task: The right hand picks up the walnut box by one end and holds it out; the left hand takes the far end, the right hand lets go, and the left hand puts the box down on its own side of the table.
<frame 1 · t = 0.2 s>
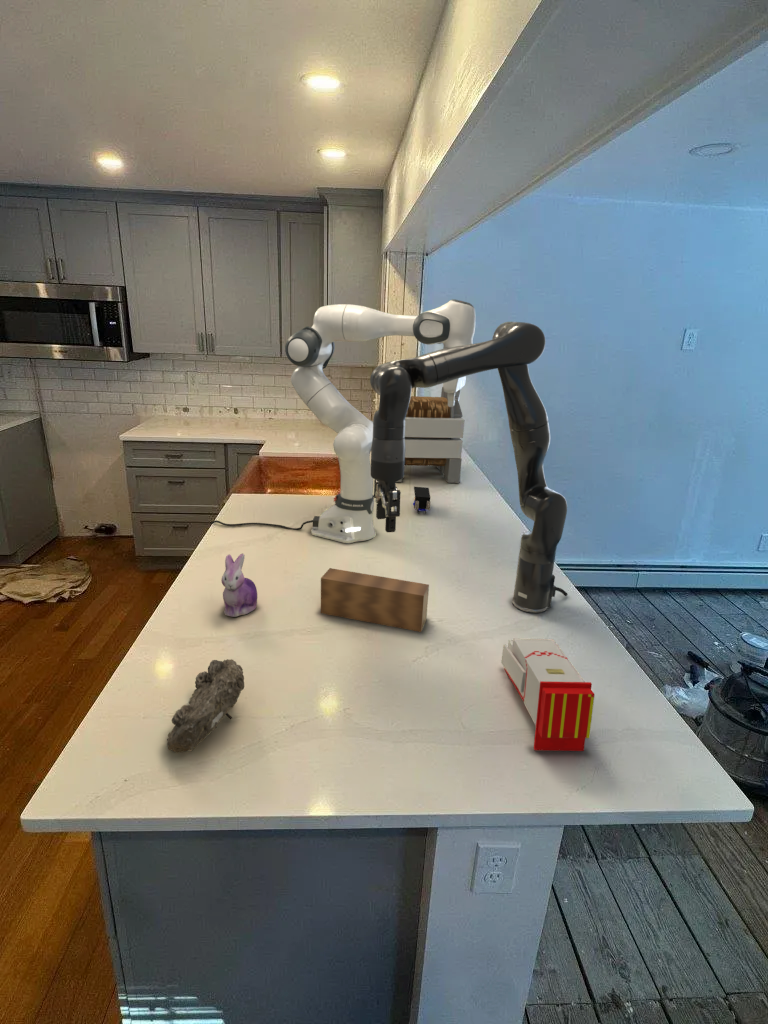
left hand: (453, 404, 174), 48 cm above the counter, tool pointing down, fingers open, 8 cm apart
right hand: (385, 524, 131), 27 cm above the counter, tool pointing down, fingers open, 8 cm apart
toy: (537, 702, 116), on the counter
figurine character: (421, 509, 225), on the counter
transformer: (419, 473, 275), on the counter
fossil: (212, 717, 108), on the counter
figurine: (240, 609, 146), on the counter
box: (373, 616, 146), on the counter
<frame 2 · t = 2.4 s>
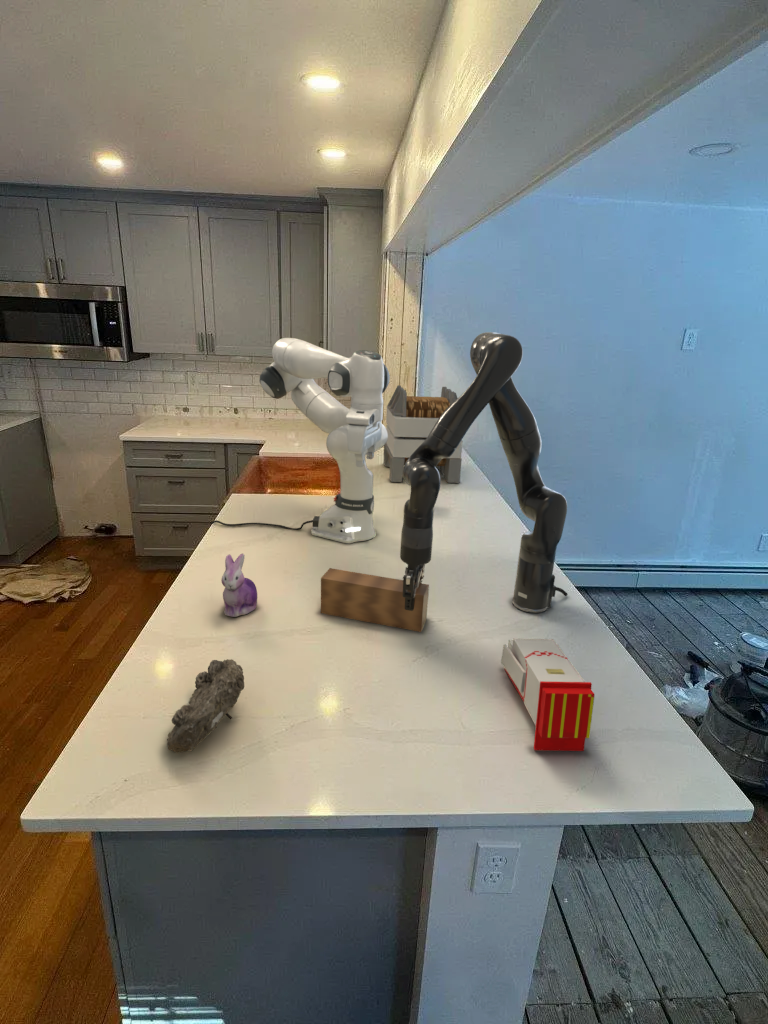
left hand: (365, 462, 158), 34 cm above the counter, tool pointing down, fingers open, 8 cm apart
right hand: (412, 603, 141), 6 cm above the counter, tool pointing down, fingers closed on box, 6 cm apart
box: (373, 616, 146), on the counter, touching right hand
everything else where it was.
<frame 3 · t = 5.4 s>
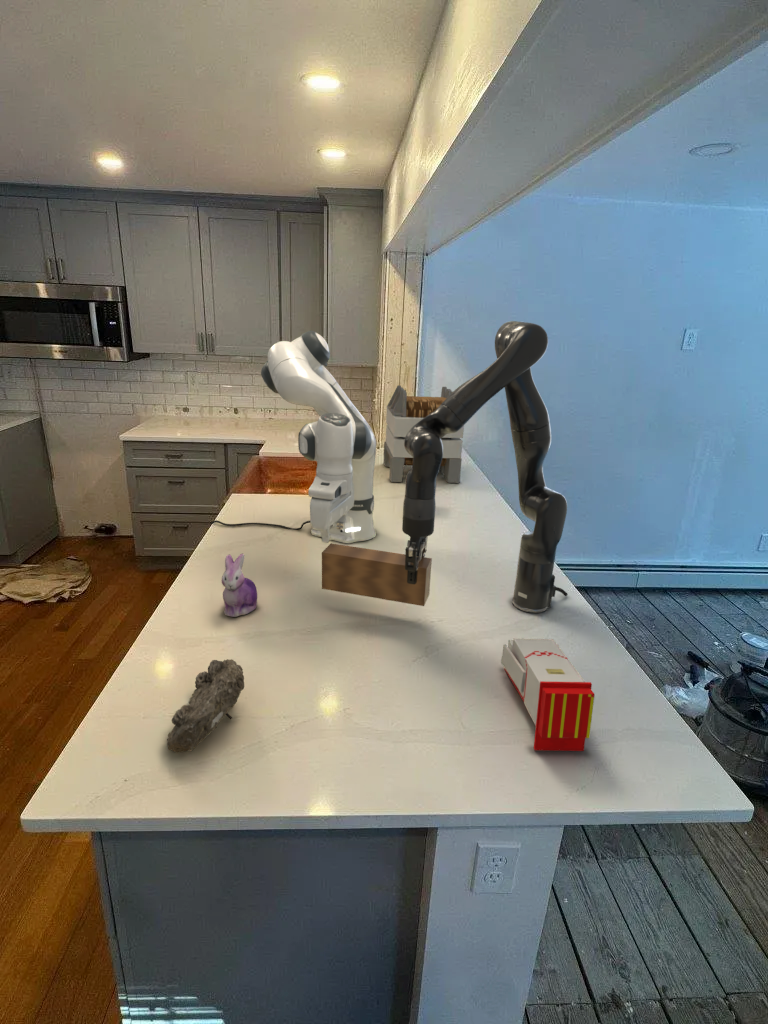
left hand: (333, 535, 142), 21 cm above the counter, tool pointing down, fingers open, 8 cm apart
right hand: (415, 577, 139), 13 cm above the counter, tool pointing down, fingers closed on box, 6 cm apart
box: (375, 591, 143), point 7 cm above the counter, touching right hand
everything else where it was.
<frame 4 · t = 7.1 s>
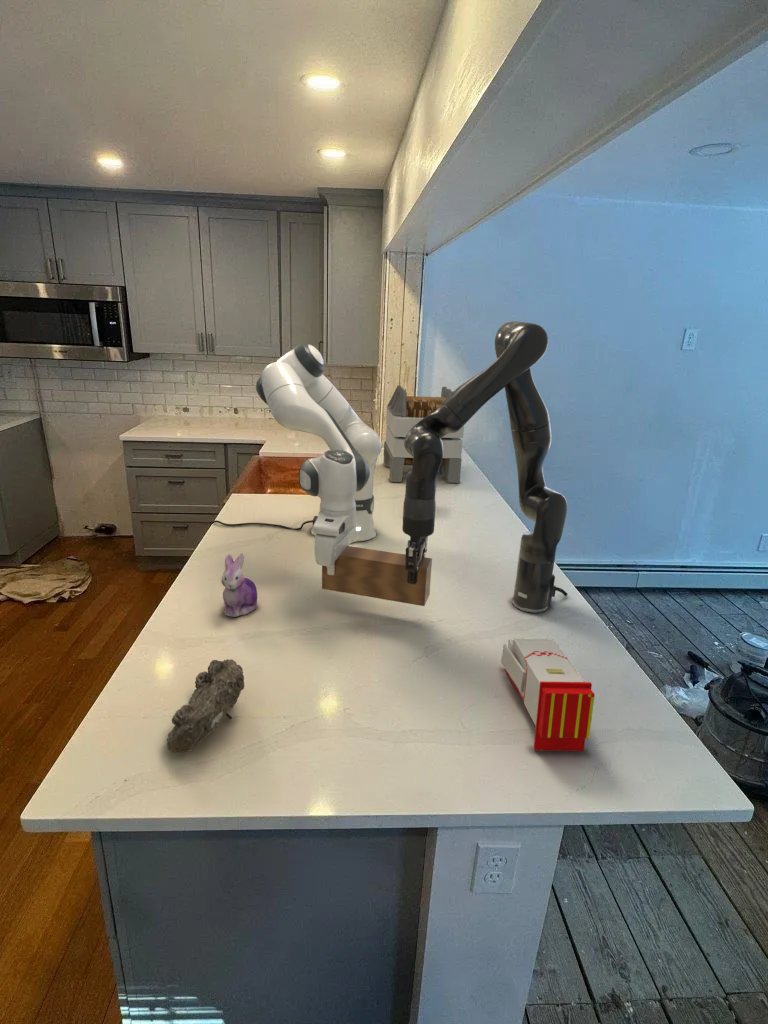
left hand: (336, 567, 144), 12 cm above the counter, tool pointing down, fingers closed on box, 6 cm apart
right hand: (415, 577, 139), 13 cm above the counter, tool pointing down, fingers closed on box, 6 cm apart
box: (375, 591, 143), point 7 cm above the counter, touching left hand, right hand
everything else where it was.
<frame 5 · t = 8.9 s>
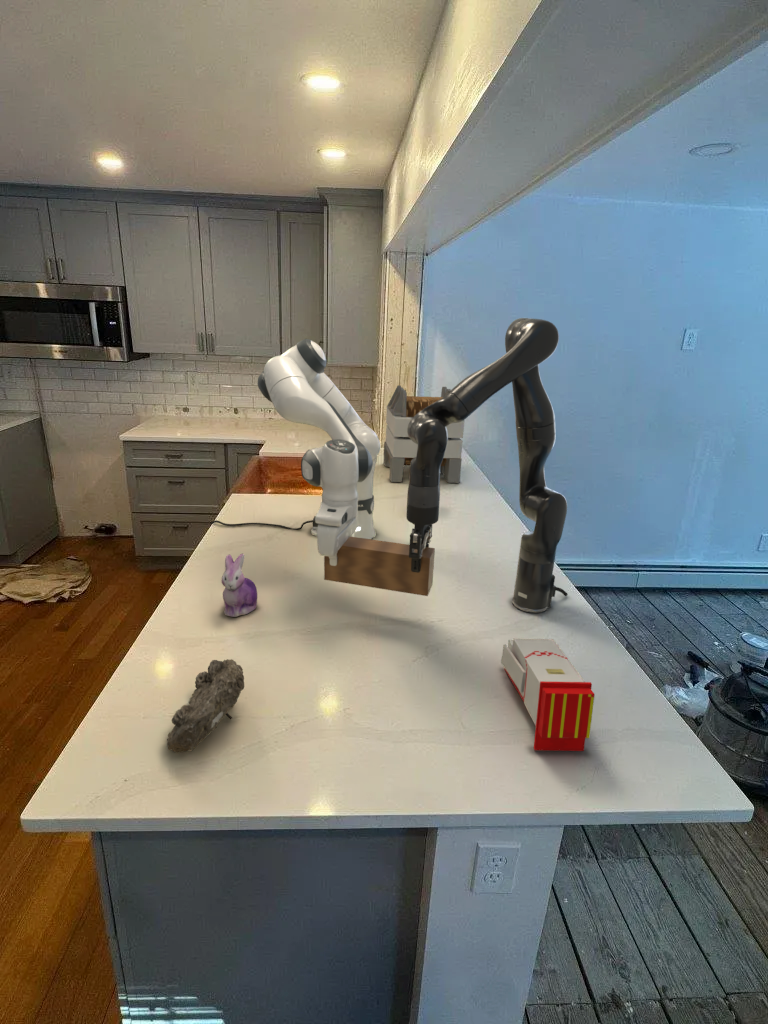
left hand: (339, 558, 143), 15 cm above the counter, tool pointing down, fingers closed on box, 6 cm apart
right hand: (419, 564, 138), 17 cm above the counter, tool pointing down, fingers open, 8 cm apart
box: (378, 582, 143), point 10 cm above the counter, touching left hand
everything else where it was.
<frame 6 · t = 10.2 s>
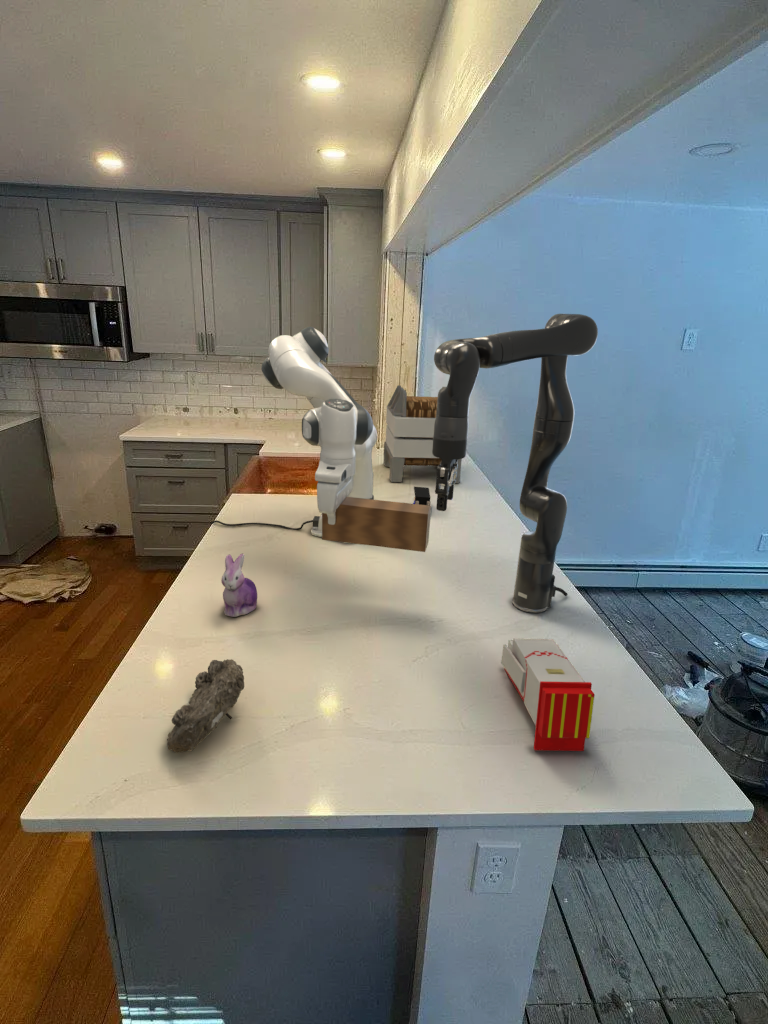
left hand: (336, 518, 145), 23 cm above the counter, tool pointing down, fingers closed on box, 6 cm apart
right hand: (444, 504, 131), 33 cm above the counter, tool pointing down, fingers open, 8 cm apart
box: (375, 541, 145), point 18 cm above the counter, touching left hand
everything else where it was.
when the left hand's fingers open (6 cm above the counter, at t = 13.8 s): box stays where it is, on the counter.
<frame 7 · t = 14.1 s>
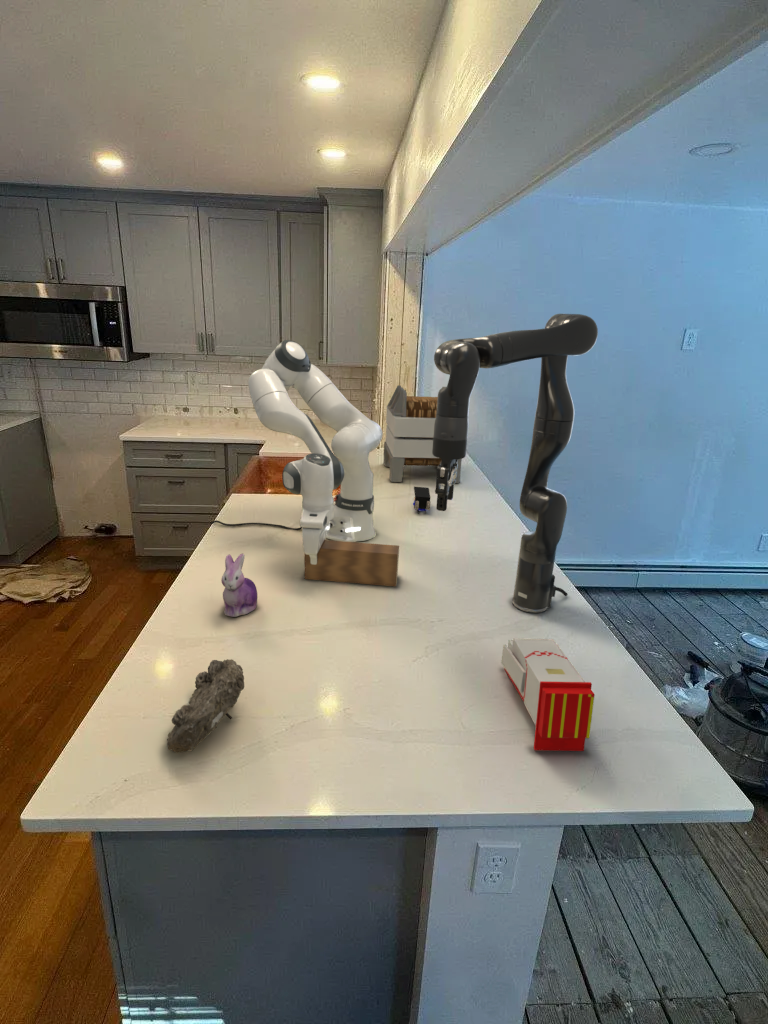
left hand: (317, 556, 165), 6 cm above the counter, tool pointing down, fingers open, 8 cm apart
right hand: (444, 504, 131), 33 cm above the counter, tool pointing down, fingers open, 8 cm apart
box: (351, 577, 166), on the counter
everything else where it was.
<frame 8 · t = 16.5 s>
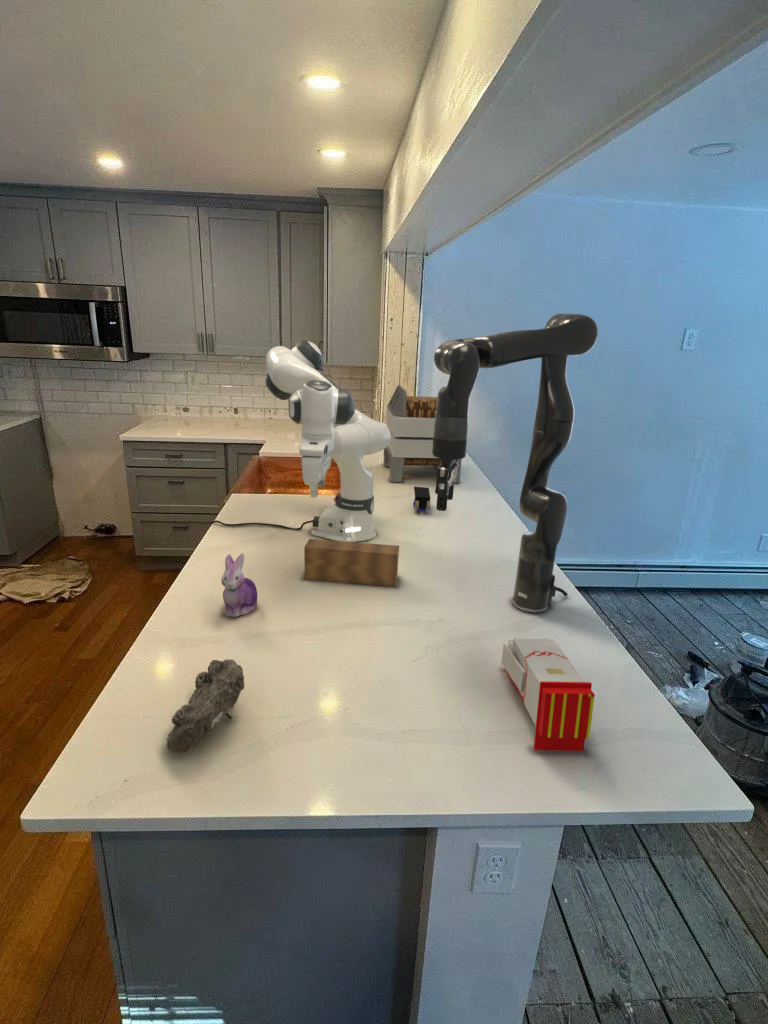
left hand: (317, 491, 158), 26 cm above the counter, tool pointing down, fingers open, 8 cm apart
right hand: (444, 504, 131), 33 cm above the counter, tool pointing down, fingers open, 8 cm apart
nothing on the counter moved.
at the end: box inside the target area (10.1 cm from its centre), on the counter; the left hand is holding nothing; the right hand is holding nothing; box at rest at the end (0.0 cm/s) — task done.
